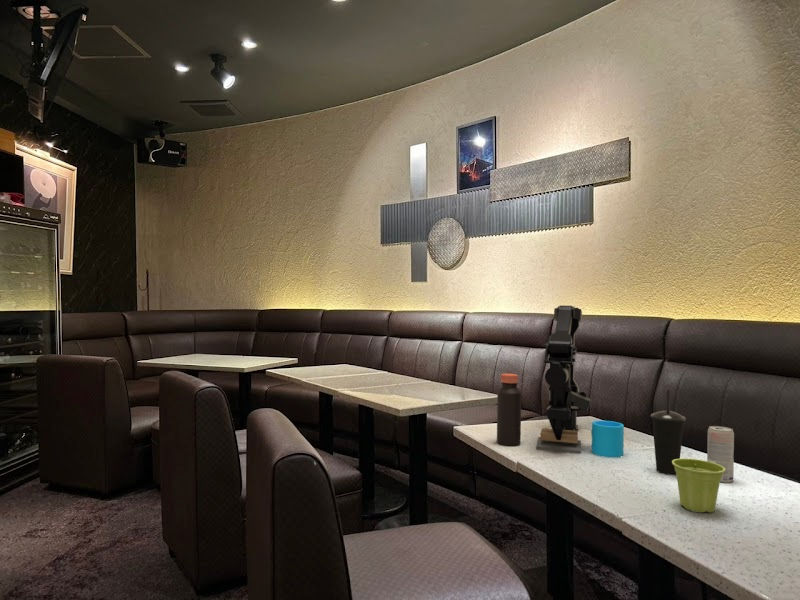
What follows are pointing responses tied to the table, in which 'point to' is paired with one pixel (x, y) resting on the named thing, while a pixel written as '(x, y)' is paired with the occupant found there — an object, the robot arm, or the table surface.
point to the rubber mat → (559, 446)
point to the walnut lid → (566, 436)
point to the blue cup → (607, 438)
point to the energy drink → (721, 450)
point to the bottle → (509, 411)
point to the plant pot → (698, 483)
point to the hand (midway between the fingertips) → (558, 437)
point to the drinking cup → (667, 438)
